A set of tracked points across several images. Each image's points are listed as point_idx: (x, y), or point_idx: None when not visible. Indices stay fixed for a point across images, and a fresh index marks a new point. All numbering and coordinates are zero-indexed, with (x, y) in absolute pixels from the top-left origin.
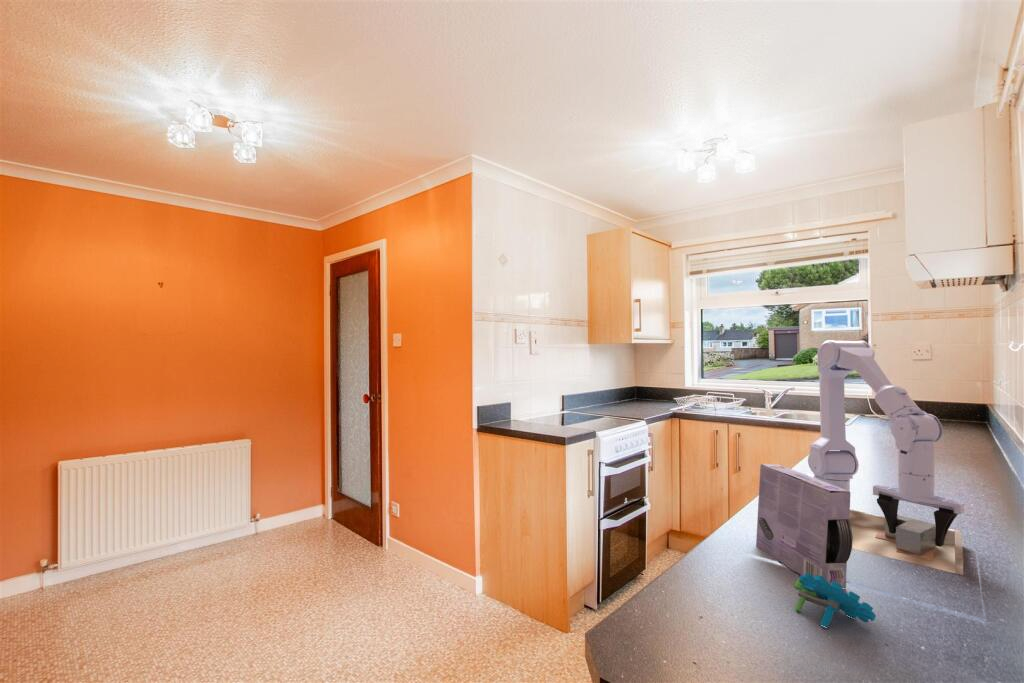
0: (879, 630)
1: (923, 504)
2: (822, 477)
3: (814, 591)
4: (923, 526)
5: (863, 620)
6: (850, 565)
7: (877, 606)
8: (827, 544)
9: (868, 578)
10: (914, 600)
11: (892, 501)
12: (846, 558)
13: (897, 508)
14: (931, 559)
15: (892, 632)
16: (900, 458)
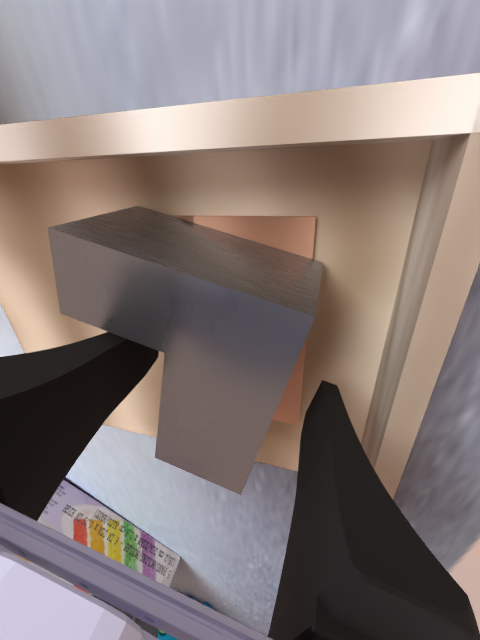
0: (237, 618)
1: (182, 614)
2: None
3: (163, 633)
4: (243, 401)
5: None
6: (154, 488)
7: (225, 585)
8: None
9: (193, 524)
10: (265, 570)
11: (18, 497)
12: (155, 633)
13: (65, 380)
14: (294, 423)
15: (248, 620)
16: None
